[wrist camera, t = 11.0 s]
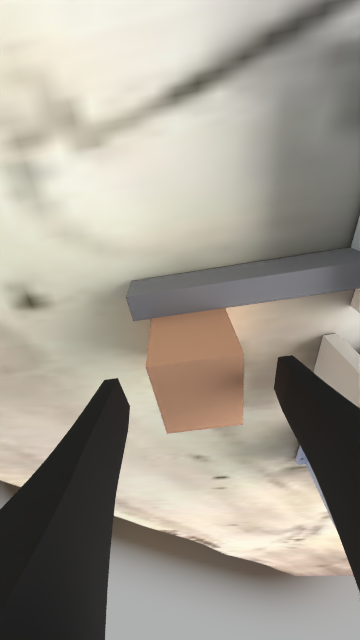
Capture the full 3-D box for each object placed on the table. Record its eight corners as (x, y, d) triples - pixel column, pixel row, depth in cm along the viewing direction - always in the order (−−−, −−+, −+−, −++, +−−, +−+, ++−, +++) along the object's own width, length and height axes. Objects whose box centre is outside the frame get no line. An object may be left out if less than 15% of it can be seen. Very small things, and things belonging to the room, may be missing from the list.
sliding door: (361, 270, 13) (425, 303, 10) (137, 303, 14) (127, 344, 11) (448, -4, 8) (661, -136, 4) (71, 71, 8) (6, 5, 5)
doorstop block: (220, 348, 17) (242, 424, 12) (167, 356, 17) (167, 433, 12) (216, 288, 14) (244, 353, 9) (153, 298, 14) (145, 367, 9)
